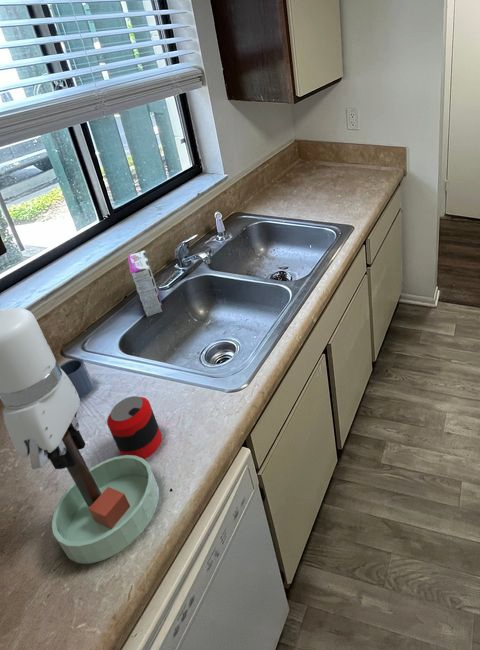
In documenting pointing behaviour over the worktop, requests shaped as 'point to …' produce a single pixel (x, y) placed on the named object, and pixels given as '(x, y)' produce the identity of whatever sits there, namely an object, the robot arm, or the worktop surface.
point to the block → (109, 507)
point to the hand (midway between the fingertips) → (70, 456)
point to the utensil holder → (78, 376)
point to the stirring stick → (81, 473)
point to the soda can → (134, 427)
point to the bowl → (93, 538)
